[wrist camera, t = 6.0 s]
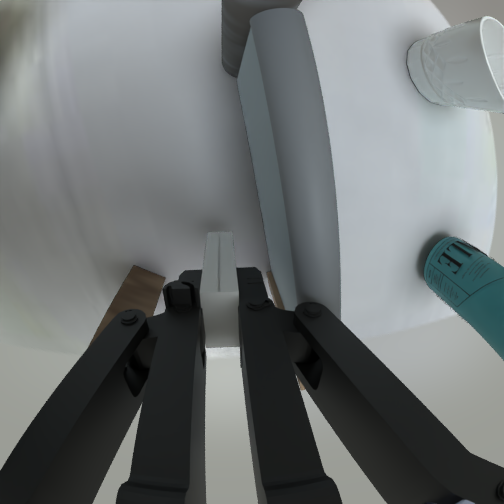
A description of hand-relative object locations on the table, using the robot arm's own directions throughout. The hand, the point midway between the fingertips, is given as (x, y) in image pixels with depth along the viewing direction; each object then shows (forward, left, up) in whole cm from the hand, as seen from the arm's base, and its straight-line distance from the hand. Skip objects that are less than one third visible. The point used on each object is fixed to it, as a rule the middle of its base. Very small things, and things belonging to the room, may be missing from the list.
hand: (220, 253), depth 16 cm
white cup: (+11, +22, -6) cm, 25 cm away
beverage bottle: (+22, +6, -6) cm, 24 cm away
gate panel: (+2, +4, -5) cm, 6 cm away
